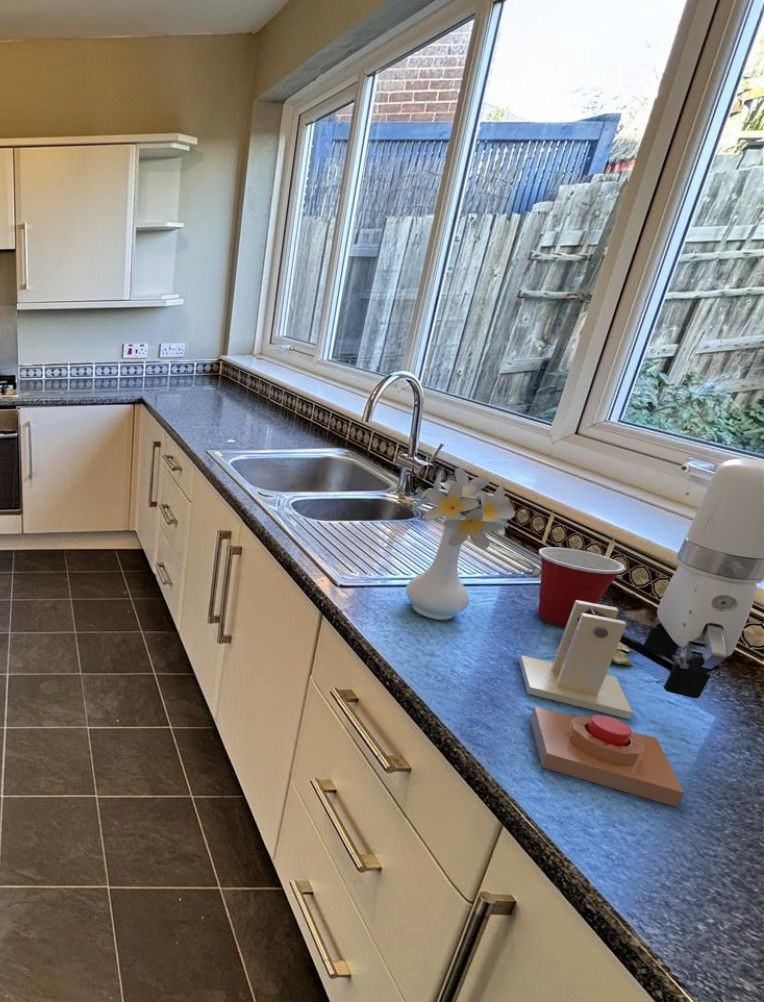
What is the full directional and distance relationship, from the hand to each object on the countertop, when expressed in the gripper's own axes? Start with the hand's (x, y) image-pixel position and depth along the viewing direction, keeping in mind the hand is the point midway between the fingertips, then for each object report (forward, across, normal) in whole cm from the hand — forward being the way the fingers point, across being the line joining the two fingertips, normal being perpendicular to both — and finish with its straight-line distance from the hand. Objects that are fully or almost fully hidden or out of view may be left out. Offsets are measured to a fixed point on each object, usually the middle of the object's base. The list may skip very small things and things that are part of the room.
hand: (667, 673), depth 83 cm
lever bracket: (+6, 0, +9) cm, 10 cm away
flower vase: (+6, +15, +25) cm, 29 cm away
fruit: (+6, +14, +3) cm, 15 cm away
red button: (+2, -16, +9) cm, 18 cm away
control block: (+6, -16, +9) cm, 19 cm away
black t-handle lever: (-2, 0, +5) cm, 5 cm away
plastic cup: (+6, +23, +7) cm, 25 cm away
